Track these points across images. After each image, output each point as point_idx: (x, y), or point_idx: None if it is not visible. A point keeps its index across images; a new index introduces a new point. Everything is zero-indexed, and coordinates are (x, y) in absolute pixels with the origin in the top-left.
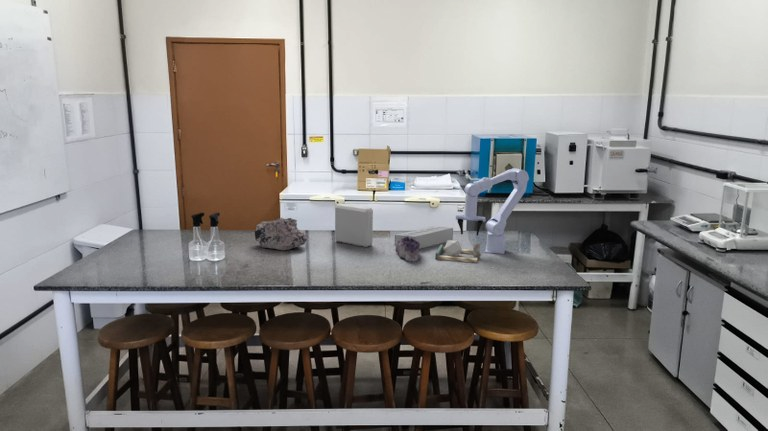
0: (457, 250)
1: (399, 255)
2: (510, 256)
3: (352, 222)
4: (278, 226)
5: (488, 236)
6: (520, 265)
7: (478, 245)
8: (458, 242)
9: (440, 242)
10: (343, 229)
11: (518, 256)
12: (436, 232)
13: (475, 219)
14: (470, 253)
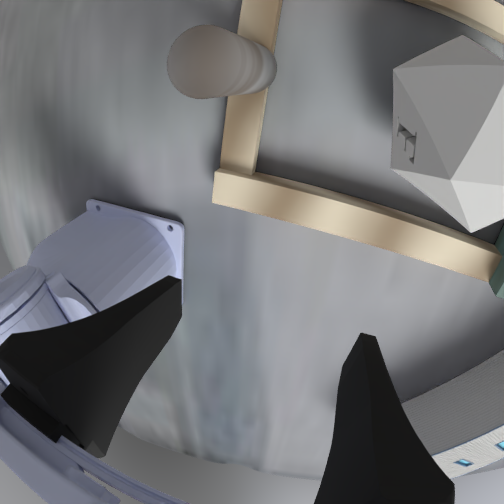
0: (437, 47)
1: None
2: (64, 162)
3: None
4: None
5: (106, 303)
6: (36, 20)
7: (186, 33)
8: (442, 142)
9: (431, 395)
10: None
11: (41, 170)
12: (473, 435)
13: (73, 472)
14: (291, 180)
